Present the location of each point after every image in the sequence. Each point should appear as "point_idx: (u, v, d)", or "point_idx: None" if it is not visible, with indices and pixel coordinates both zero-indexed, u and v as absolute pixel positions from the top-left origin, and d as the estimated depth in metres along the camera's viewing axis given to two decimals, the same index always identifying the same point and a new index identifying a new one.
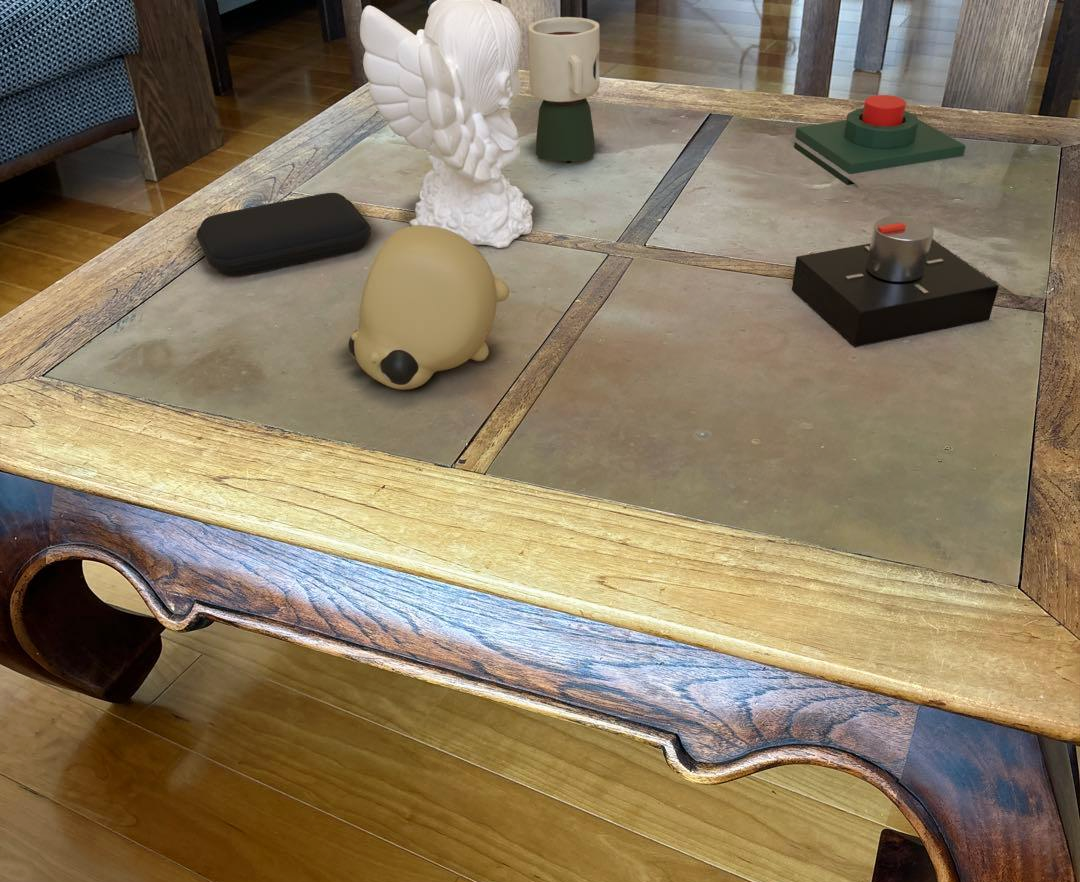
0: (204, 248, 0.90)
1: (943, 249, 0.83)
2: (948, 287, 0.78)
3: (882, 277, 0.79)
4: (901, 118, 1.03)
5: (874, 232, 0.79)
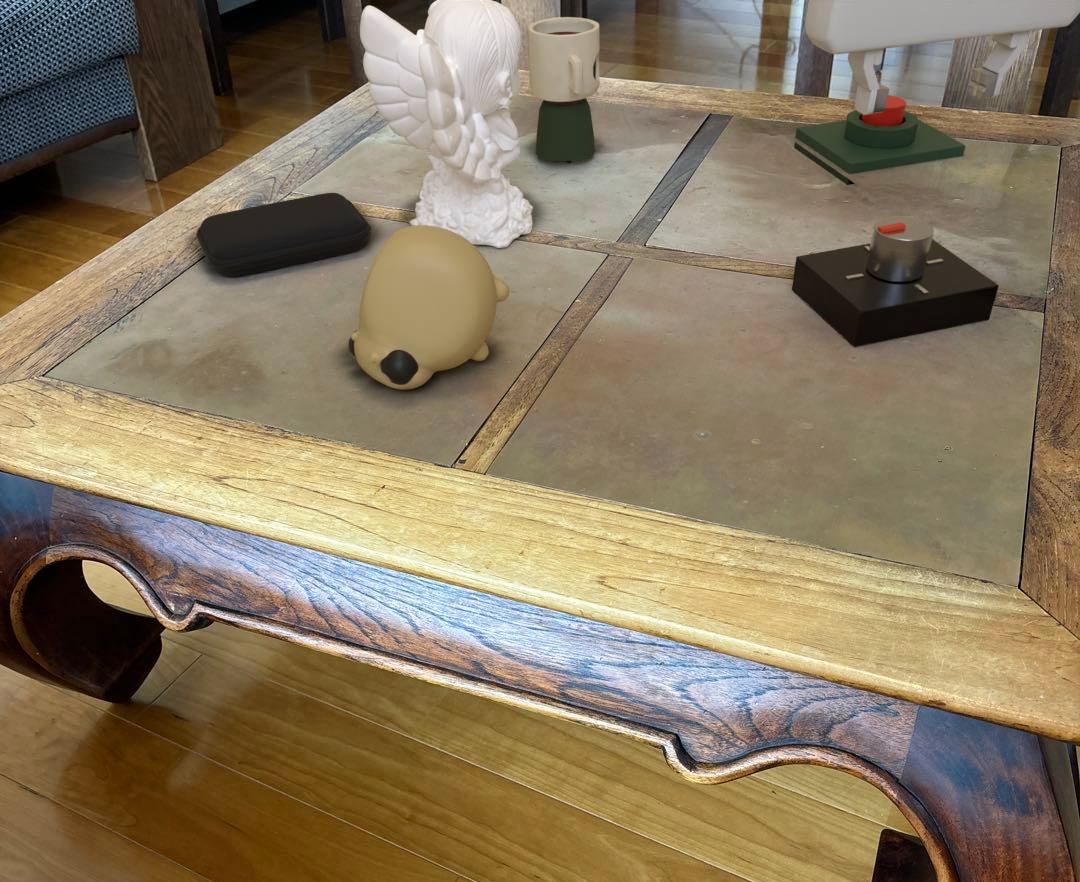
0: (204, 248, 0.90)
1: (943, 249, 0.83)
2: (948, 287, 0.78)
3: (882, 277, 0.79)
4: (901, 118, 1.03)
5: (874, 232, 0.79)
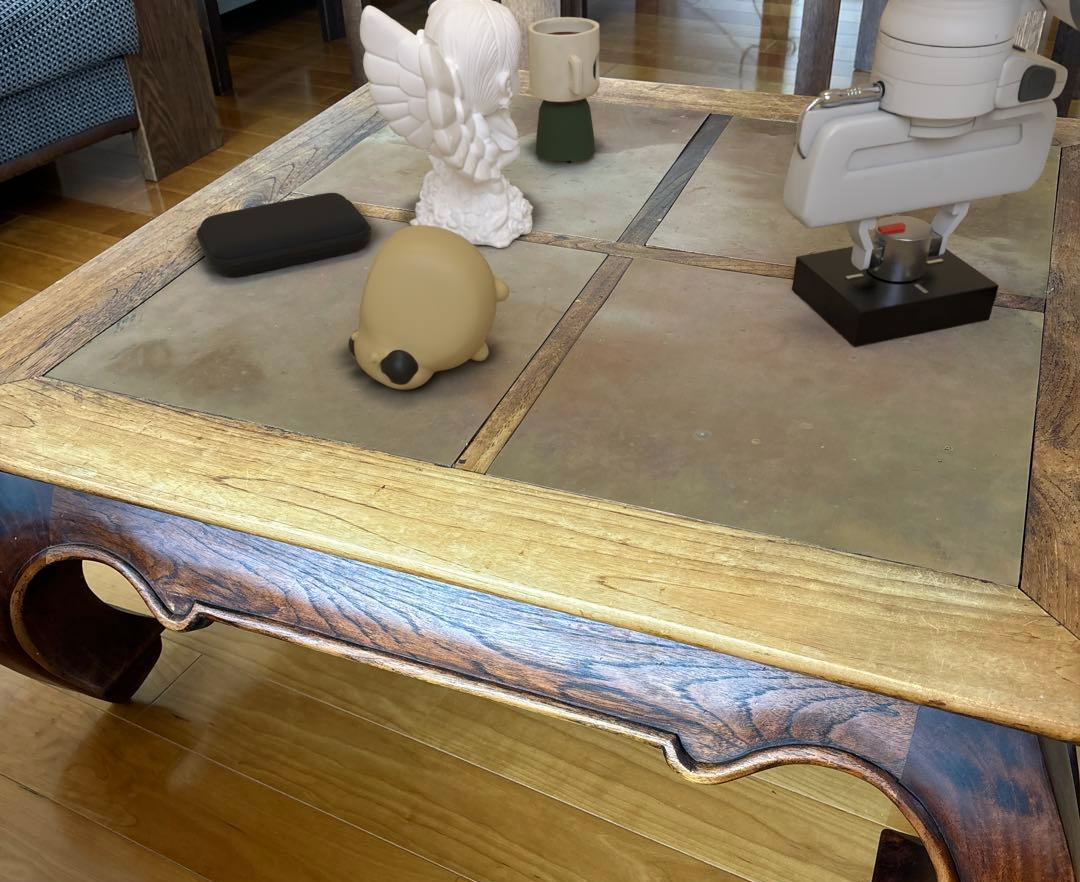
0: (204, 248, 0.90)
1: None
2: (948, 287, 0.78)
3: (882, 277, 0.79)
4: None
5: (874, 232, 0.79)
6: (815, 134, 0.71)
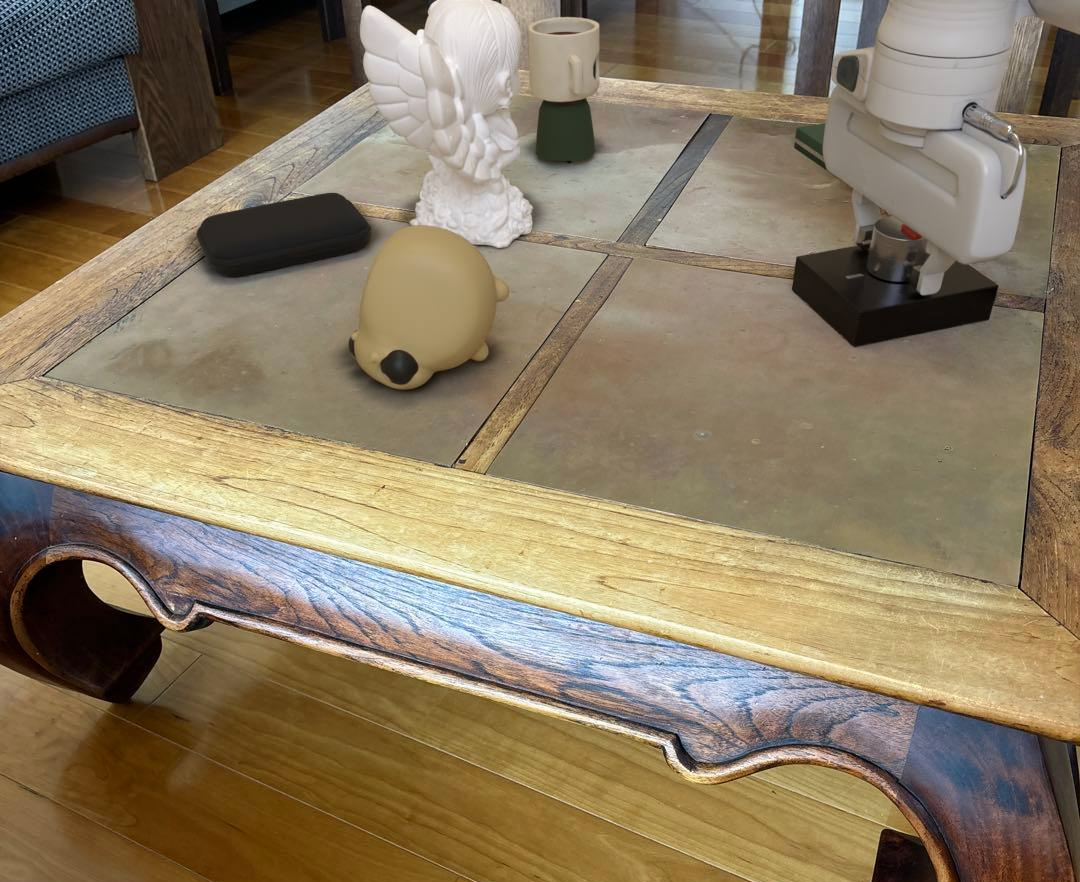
0: (204, 248, 0.90)
1: None
2: (948, 287, 0.78)
3: None
4: None
5: (908, 244, 0.77)
6: None
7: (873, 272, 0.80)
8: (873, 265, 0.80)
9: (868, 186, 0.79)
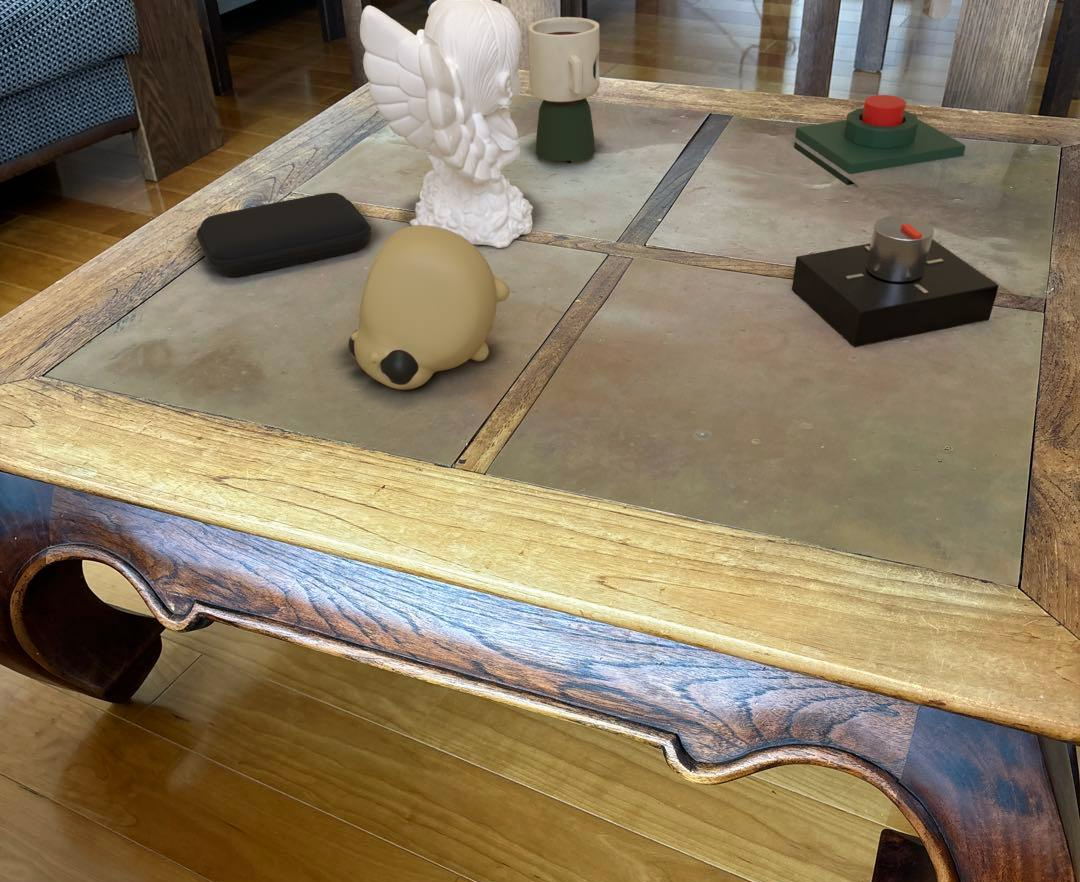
0: (204, 248, 0.90)
1: (943, 249, 0.83)
2: (948, 287, 0.78)
3: (921, 275, 0.79)
4: (901, 118, 1.03)
5: (908, 244, 0.77)
6: None
7: (873, 272, 0.80)
8: (873, 265, 0.80)
9: None
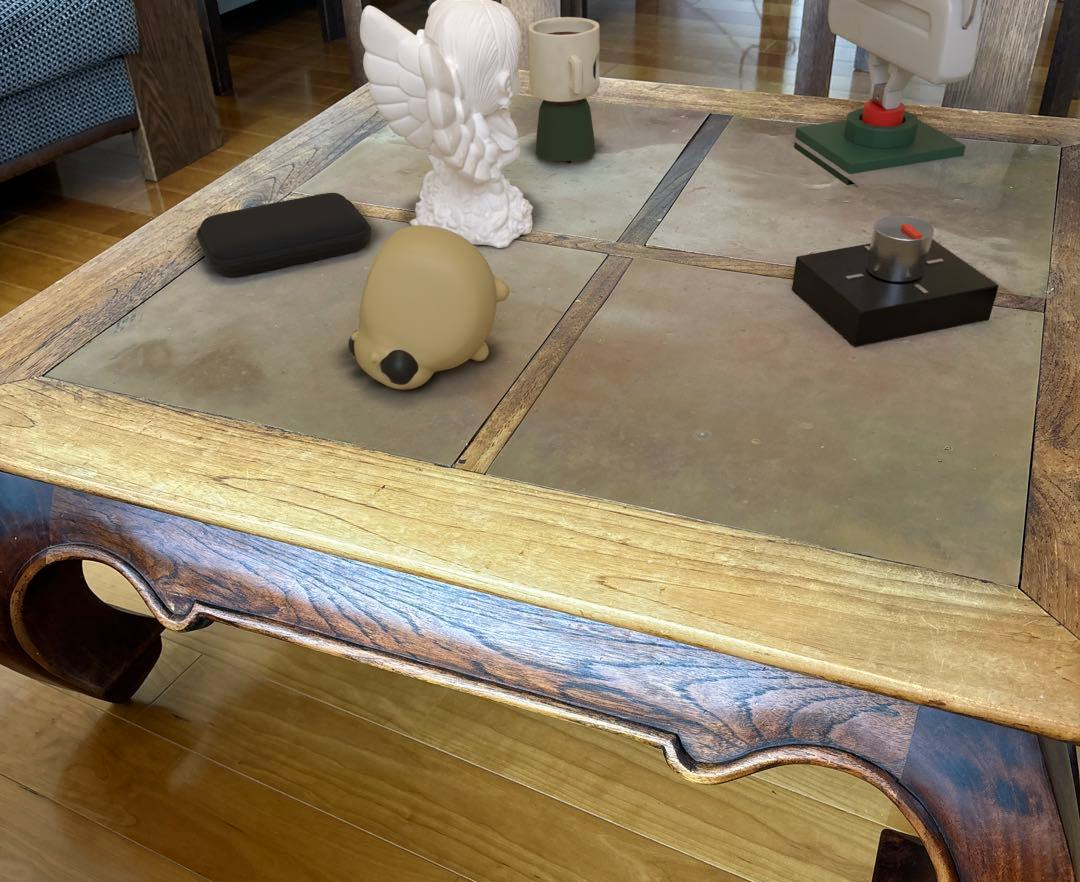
0: (204, 248, 0.90)
1: (943, 249, 0.83)
2: (948, 287, 0.78)
3: (921, 275, 0.79)
4: (900, 122, 1.03)
5: (908, 244, 0.77)
6: None
7: (873, 272, 0.80)
8: (873, 265, 0.80)
9: (863, 37, 1.01)
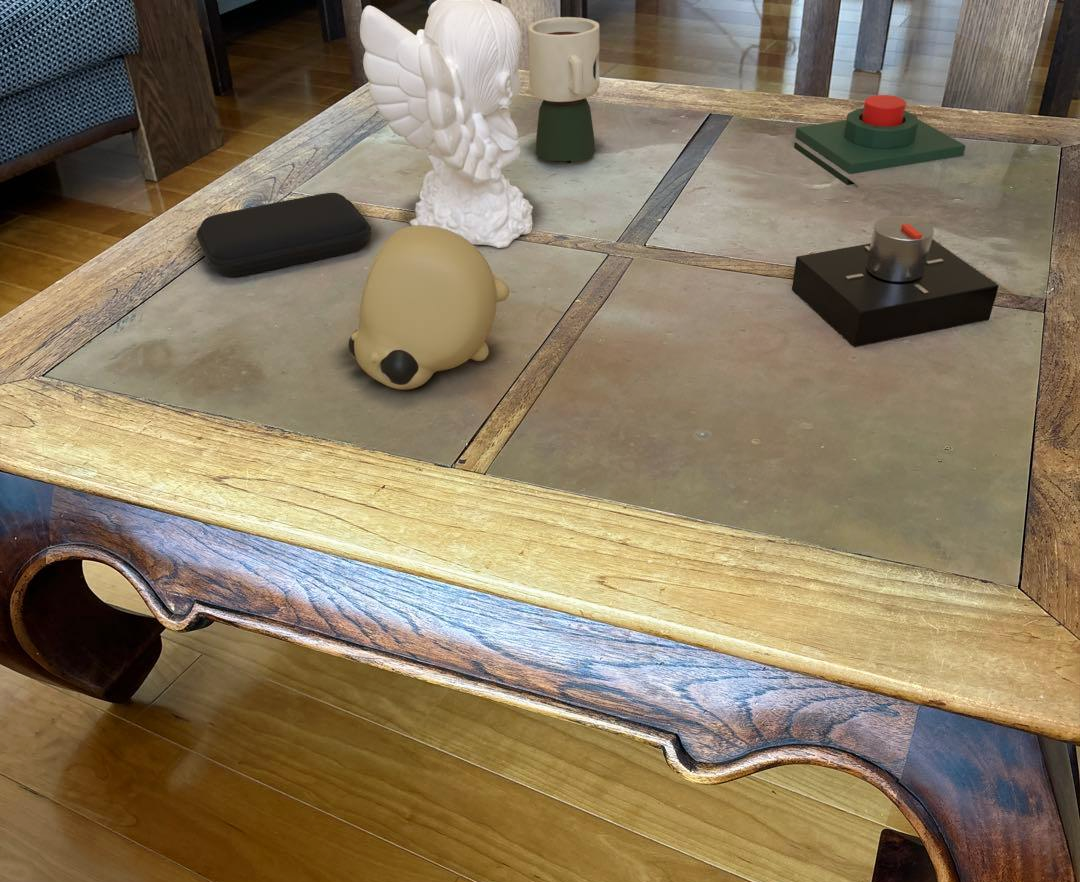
0: (204, 248, 0.90)
1: (943, 249, 0.83)
2: (948, 287, 0.78)
3: (921, 275, 0.79)
4: (901, 118, 1.03)
5: (908, 244, 0.77)
6: None
7: (873, 272, 0.80)
8: (873, 265, 0.80)
9: None
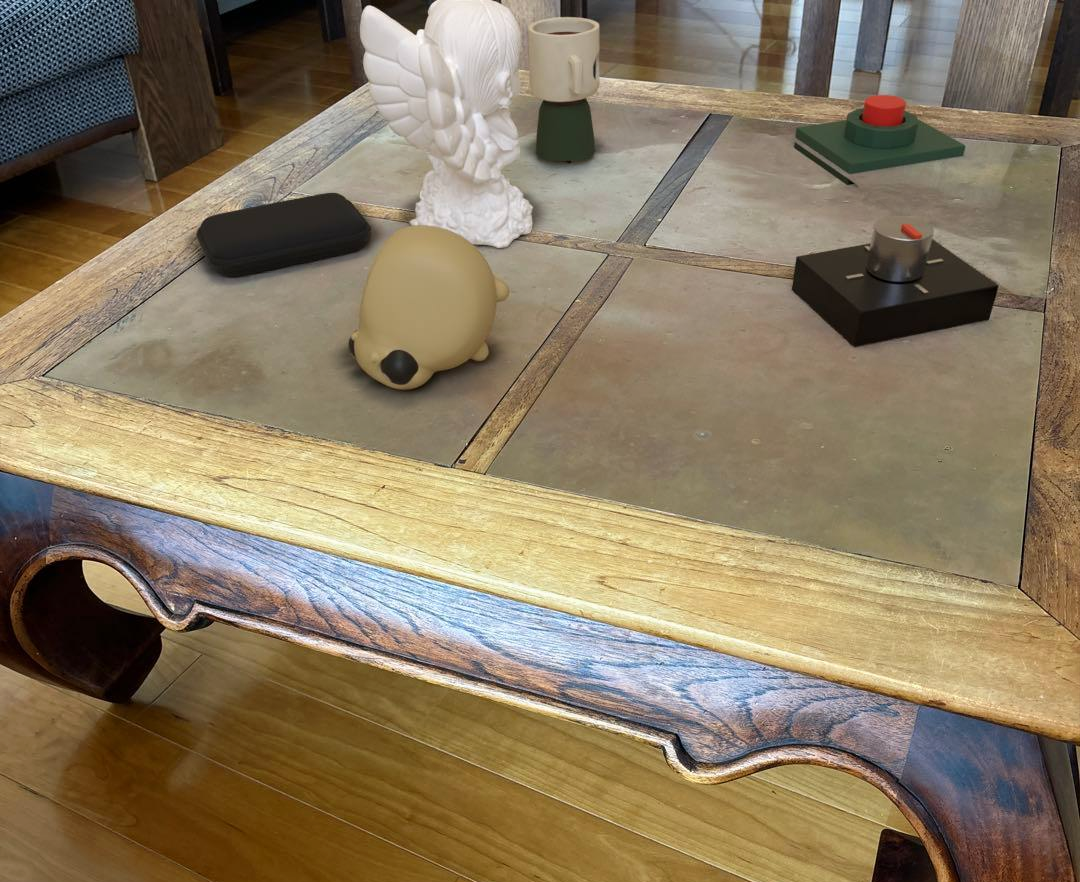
0: (204, 248, 0.90)
1: (943, 249, 0.83)
2: (948, 287, 0.78)
3: (921, 275, 0.79)
4: (901, 118, 1.03)
5: (908, 244, 0.77)
6: None
7: (873, 272, 0.80)
8: (873, 265, 0.80)
9: None
